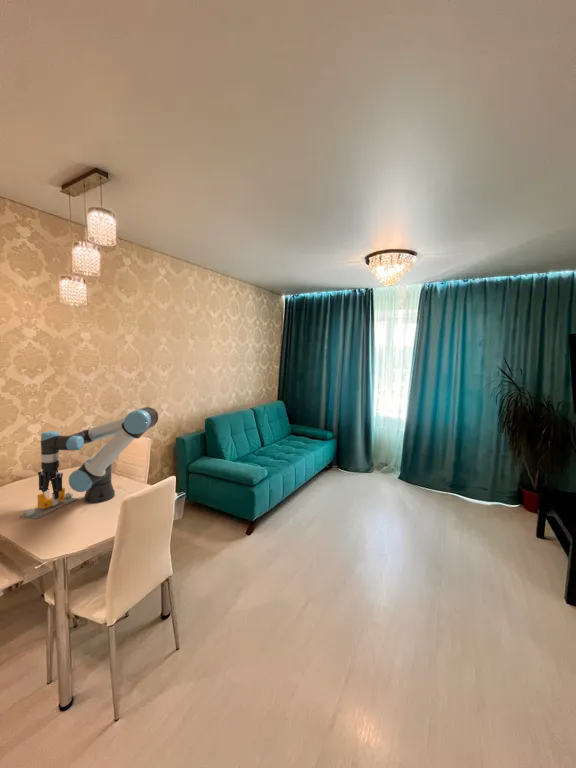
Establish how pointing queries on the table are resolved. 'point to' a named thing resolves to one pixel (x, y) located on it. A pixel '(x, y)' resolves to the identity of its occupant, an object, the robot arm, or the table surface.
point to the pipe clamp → (48, 502)
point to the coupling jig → (48, 508)
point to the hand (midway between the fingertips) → (50, 503)
